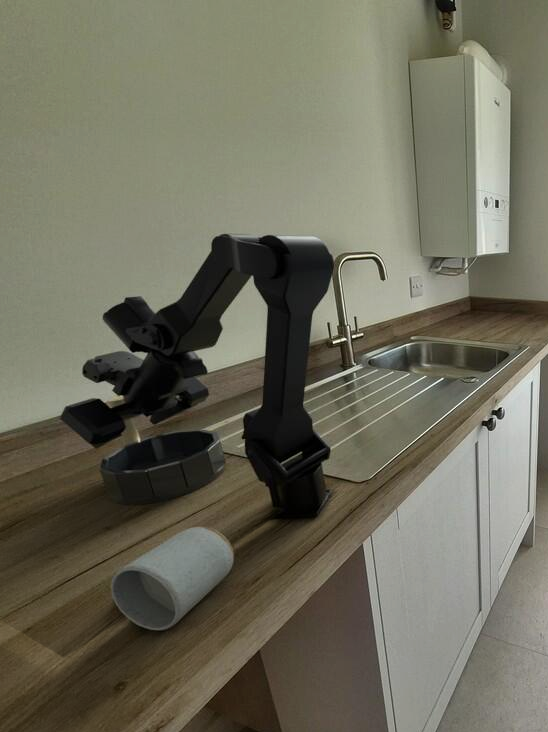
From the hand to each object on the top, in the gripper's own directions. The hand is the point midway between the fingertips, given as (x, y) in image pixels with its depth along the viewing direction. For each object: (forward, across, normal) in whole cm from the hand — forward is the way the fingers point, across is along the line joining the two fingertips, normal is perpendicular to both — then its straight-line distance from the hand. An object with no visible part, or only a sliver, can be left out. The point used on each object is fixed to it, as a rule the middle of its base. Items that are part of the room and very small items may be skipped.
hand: (125, 433), depth 68 cm
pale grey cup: (-17, +22, +28) cm, 39 cm away
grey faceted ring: (-1, +1, +10) cm, 10 cm away
